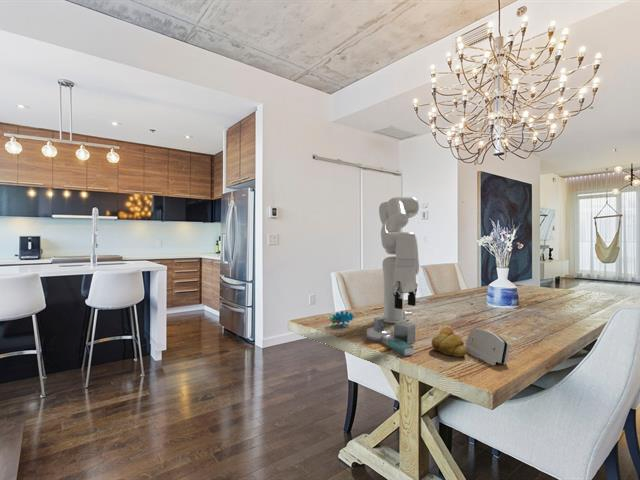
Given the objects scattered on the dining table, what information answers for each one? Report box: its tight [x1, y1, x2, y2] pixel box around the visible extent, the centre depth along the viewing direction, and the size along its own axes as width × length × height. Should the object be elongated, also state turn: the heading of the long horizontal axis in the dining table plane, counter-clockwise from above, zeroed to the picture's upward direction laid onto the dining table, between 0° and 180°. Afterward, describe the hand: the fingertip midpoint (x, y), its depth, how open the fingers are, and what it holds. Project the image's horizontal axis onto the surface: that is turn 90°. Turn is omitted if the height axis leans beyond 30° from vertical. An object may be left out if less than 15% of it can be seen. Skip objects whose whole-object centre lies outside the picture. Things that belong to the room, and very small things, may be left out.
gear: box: [329, 310, 354, 329], centre depth 155 cm, size 11×6×10 cm
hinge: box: [464, 328, 511, 366], centre depth 118 cm, size 17×5×10 cm, turn 15°
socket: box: [393, 321, 416, 345], centre depth 133 cm, size 6×6×7 cm
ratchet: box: [366, 316, 414, 357], centre depth 130 cm, size 10×26×8 cm, turn 20°
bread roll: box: [431, 326, 467, 358], centre depth 121 cm, size 13×10×8 cm
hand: (405, 306), depth 132 cm, fingers open, 9 cm apart
